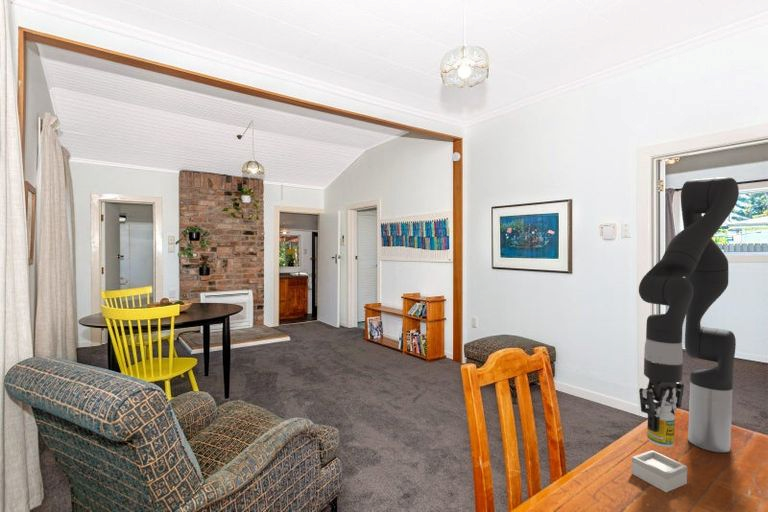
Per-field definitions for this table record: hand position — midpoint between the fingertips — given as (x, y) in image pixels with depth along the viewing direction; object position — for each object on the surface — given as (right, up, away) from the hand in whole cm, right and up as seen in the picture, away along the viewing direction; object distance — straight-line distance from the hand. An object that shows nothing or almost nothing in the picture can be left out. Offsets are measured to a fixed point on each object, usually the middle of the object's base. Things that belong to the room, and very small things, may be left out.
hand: (660, 427), depth 94 cm
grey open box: (0, -13, +1) cm, 13 cm away
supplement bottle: (0, -4, 0) cm, 4 cm away
